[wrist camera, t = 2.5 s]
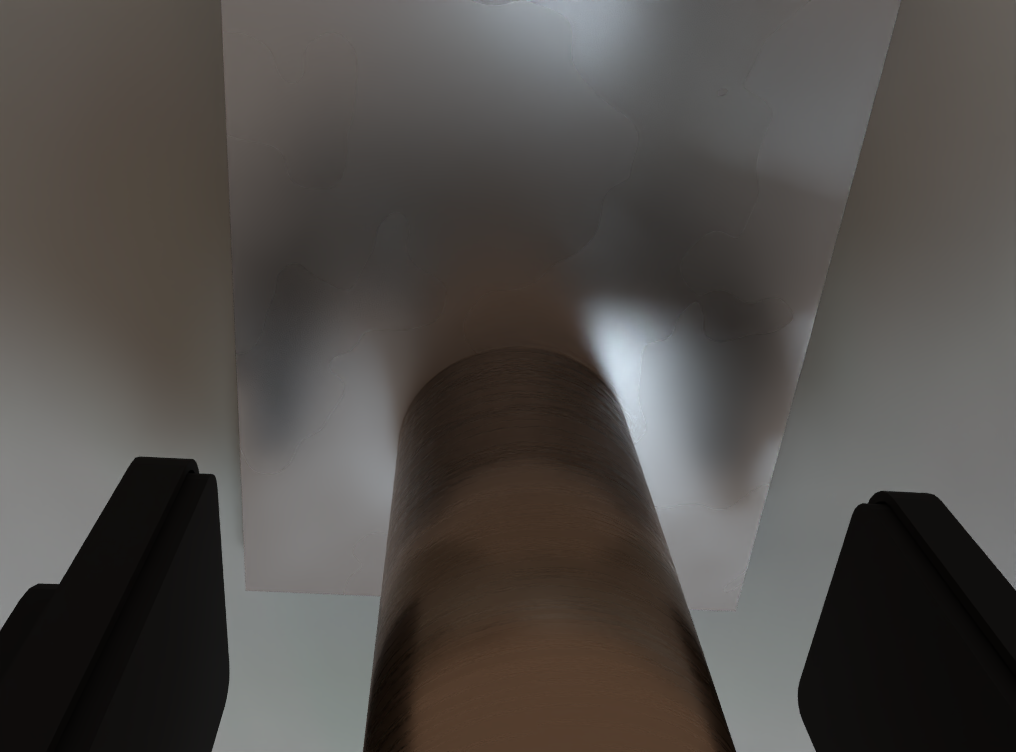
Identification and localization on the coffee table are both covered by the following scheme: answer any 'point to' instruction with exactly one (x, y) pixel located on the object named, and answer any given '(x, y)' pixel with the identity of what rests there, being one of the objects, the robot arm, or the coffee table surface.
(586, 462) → the trowel
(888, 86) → the coffee table surface
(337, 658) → the coffee table surface
